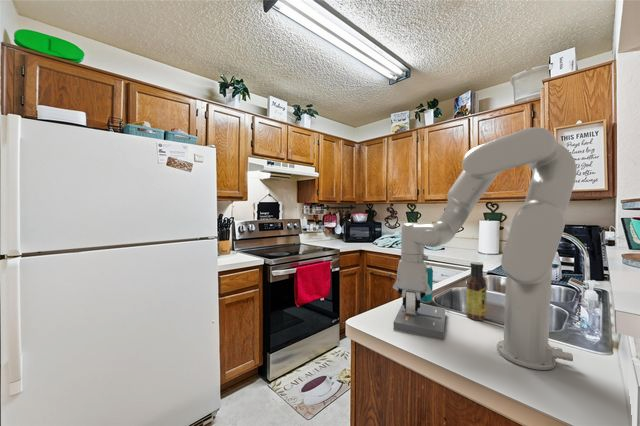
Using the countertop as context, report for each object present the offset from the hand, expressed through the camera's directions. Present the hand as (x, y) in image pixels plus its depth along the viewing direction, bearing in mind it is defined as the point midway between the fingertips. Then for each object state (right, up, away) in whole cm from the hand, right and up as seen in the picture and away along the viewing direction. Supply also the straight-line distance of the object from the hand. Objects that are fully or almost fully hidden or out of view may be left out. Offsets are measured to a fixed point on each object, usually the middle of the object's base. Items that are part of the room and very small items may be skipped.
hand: (411, 308), depth 93 cm
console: (+3, -4, -1) cm, 5 cm away
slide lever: (0, -1, 0) cm, 1 cm away
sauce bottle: (+24, -4, +2) cm, 25 cm away
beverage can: (+12, -4, +18) cm, 22 cm away
